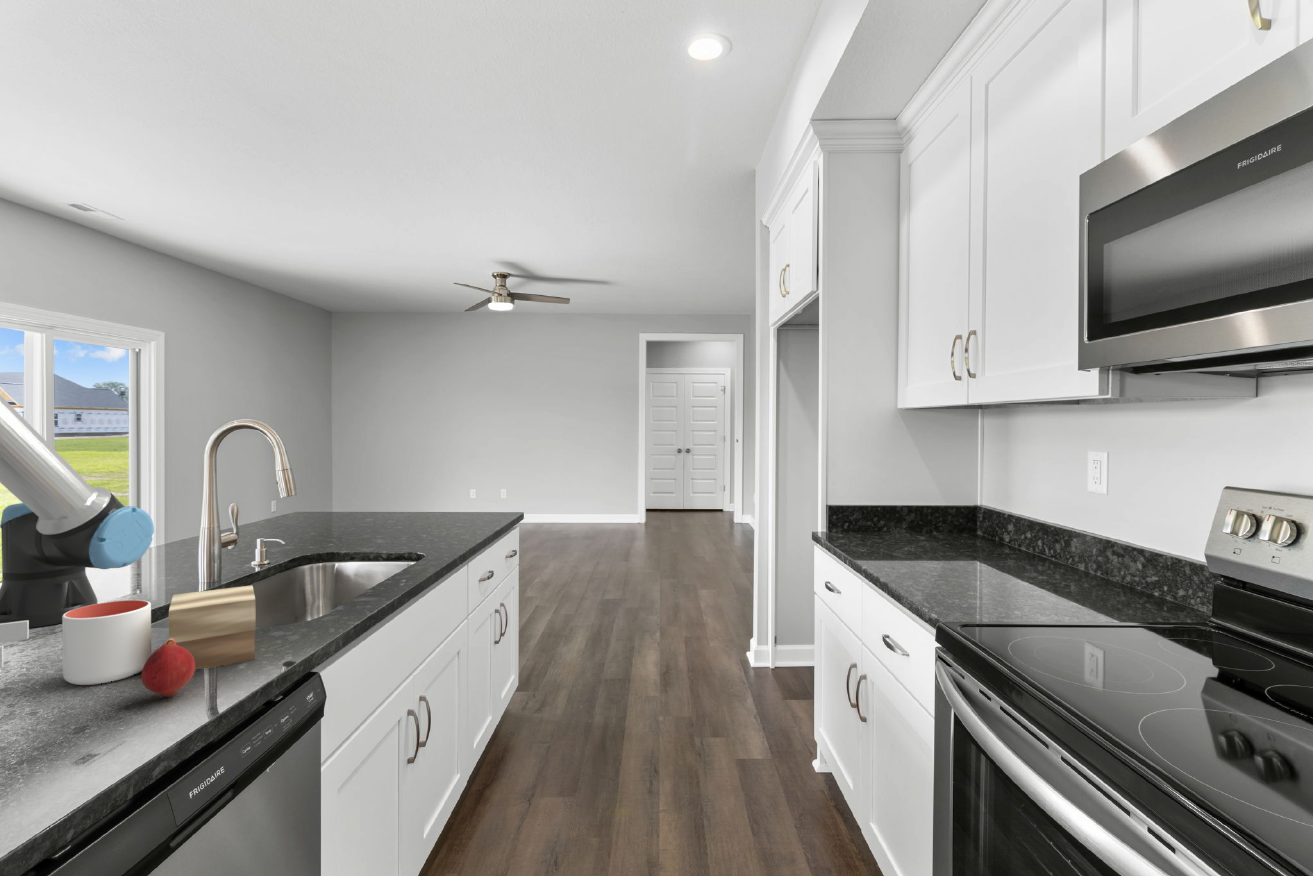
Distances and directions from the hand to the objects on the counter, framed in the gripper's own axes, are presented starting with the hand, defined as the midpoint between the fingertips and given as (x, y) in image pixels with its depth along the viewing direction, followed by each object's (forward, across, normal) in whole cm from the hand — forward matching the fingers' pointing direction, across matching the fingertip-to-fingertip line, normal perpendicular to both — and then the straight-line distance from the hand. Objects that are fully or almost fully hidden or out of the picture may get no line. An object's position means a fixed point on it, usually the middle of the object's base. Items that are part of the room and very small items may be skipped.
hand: (16, 642), depth 88 cm
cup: (+10, 0, -7) cm, 12 cm away
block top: (+23, 0, -2) cm, 23 cm away
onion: (+18, +15, -7) cm, 24 cm away
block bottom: (+23, 0, -7) cm, 24 cm away
